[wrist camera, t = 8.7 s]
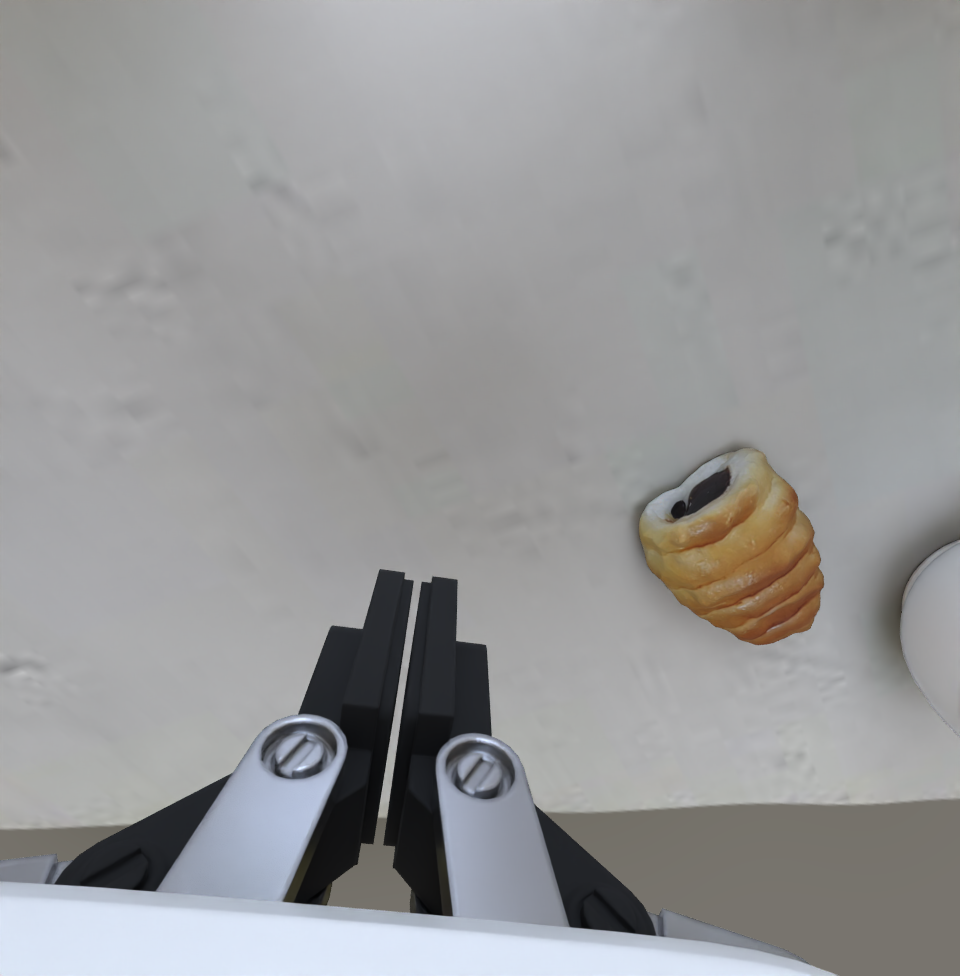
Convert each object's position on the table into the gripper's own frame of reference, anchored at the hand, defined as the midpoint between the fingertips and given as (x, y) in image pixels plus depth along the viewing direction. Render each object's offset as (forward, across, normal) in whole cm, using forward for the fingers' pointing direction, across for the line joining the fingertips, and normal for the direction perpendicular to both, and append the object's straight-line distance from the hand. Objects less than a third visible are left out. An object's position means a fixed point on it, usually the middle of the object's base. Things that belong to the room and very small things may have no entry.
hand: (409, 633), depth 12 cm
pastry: (+14, -14, +2) cm, 20 cm away
